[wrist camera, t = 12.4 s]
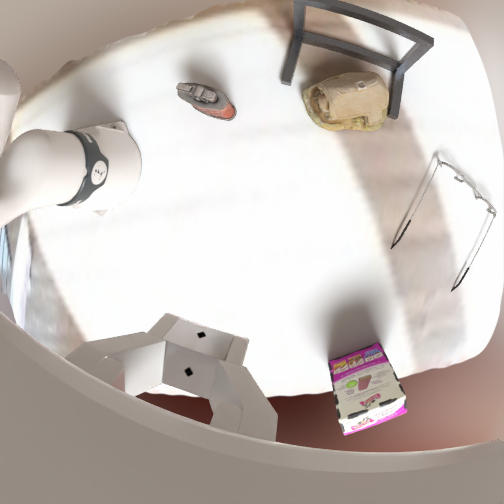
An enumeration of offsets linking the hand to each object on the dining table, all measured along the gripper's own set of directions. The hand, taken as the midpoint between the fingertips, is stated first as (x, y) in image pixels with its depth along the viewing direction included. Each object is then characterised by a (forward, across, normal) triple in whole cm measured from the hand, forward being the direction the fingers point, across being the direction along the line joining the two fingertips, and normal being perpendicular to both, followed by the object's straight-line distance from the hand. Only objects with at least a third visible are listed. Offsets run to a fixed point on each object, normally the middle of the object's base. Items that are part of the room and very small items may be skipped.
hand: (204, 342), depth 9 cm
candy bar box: (+37, -24, +22) cm, 50 cm away
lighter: (+37, +14, -16) cm, 43 cm away
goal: (+37, -6, -28) cm, 47 cm away
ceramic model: (+38, -7, -22) cm, 44 cm away
